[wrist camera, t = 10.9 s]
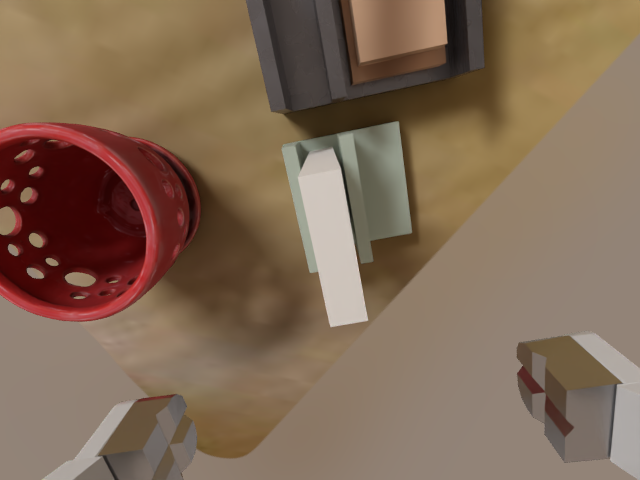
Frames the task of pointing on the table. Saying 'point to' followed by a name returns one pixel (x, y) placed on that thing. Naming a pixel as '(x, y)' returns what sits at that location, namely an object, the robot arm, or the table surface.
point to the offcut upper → (396, 28)
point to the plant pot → (91, 217)
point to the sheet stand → (359, 184)
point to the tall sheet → (332, 237)
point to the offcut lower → (385, 67)
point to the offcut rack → (343, 52)
